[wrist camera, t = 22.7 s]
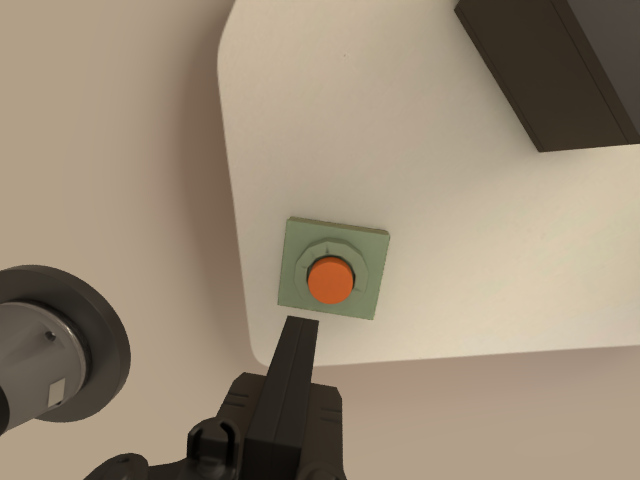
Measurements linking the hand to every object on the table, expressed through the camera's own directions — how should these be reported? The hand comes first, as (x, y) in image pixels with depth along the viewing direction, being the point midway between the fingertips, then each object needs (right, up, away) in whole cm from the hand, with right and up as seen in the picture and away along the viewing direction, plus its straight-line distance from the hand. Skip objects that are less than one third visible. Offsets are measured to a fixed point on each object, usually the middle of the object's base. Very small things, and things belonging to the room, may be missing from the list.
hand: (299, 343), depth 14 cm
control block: (+2, +2, +17) cm, 18 cm away
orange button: (+2, +2, +14) cm, 14 cm away
